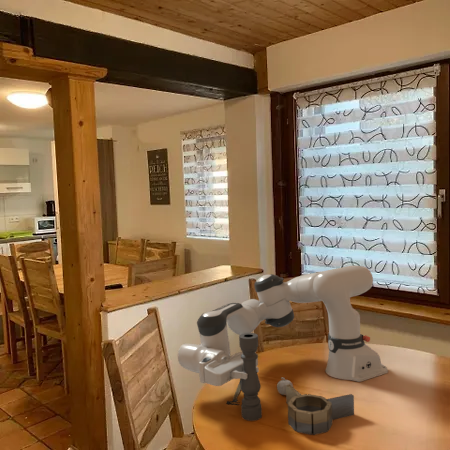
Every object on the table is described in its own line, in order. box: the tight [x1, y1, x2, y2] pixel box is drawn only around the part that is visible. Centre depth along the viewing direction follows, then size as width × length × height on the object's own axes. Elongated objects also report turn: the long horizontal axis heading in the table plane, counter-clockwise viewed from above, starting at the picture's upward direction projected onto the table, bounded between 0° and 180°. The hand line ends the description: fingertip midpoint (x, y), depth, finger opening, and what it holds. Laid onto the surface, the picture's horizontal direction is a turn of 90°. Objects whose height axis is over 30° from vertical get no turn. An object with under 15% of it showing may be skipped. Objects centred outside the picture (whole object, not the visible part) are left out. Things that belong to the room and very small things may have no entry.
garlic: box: [276, 377, 294, 396], centre depth 157 cm, size 6×5×5 cm
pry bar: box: [226, 378, 242, 406], centre depth 160 cm, size 21×7×1 cm, turn 166°
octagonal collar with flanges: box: [285, 384, 355, 436], centre depth 142 cm, size 20×20×6 cm
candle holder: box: [238, 332, 263, 422], centre depth 142 cm, size 6×6×25 cm
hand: (252, 373), depth 141 cm, fingers closed on candle holder, 3 cm apart
